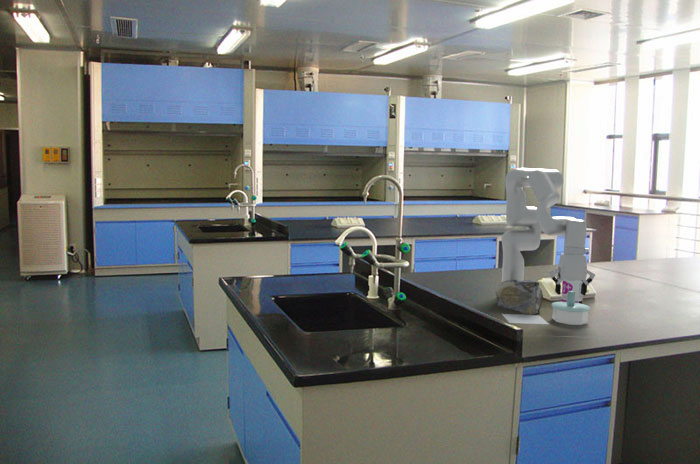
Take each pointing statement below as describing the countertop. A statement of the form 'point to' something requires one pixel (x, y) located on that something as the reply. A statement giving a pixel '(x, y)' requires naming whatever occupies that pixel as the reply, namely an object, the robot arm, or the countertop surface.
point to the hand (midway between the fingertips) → (570, 294)
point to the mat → (524, 319)
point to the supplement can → (572, 286)
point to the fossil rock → (520, 296)
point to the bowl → (570, 317)
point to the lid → (570, 304)
